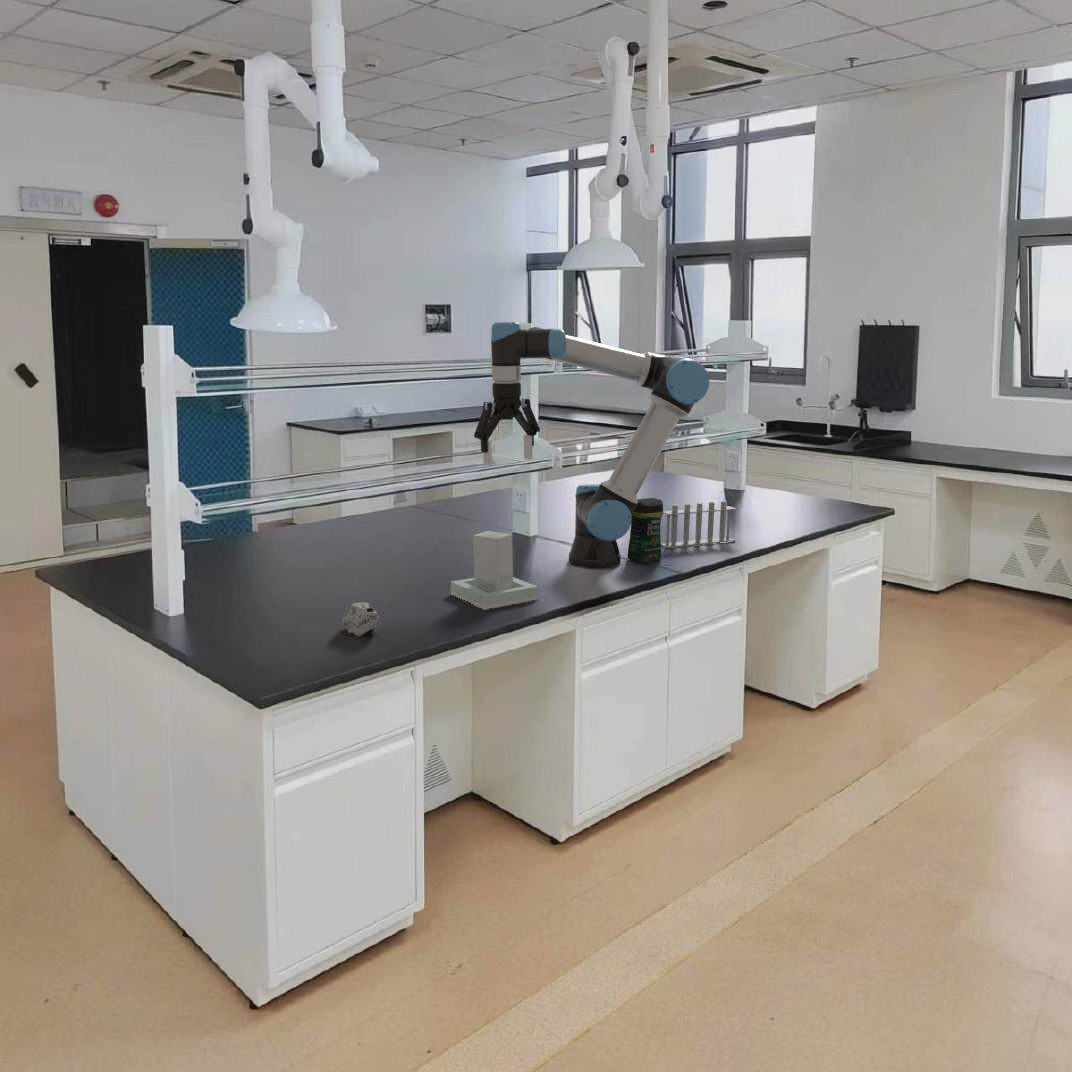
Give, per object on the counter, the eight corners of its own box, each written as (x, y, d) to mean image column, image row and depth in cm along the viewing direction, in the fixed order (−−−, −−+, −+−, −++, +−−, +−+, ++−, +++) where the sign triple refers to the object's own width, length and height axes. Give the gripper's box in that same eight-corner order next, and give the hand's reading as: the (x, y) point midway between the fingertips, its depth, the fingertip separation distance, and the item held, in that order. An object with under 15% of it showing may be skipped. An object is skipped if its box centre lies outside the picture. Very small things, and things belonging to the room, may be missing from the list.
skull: (366, 611, 242) (382, 586, 233) (375, 645, 238) (391, 621, 229) (334, 614, 238) (349, 589, 229) (342, 648, 234) (358, 624, 225)
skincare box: (514, 593, 264) (514, 534, 260) (497, 599, 259) (497, 538, 255) (489, 588, 269) (489, 529, 265) (472, 593, 264) (472, 533, 260)
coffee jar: (639, 565, 297) (642, 502, 293) (623, 559, 304) (625, 497, 300) (666, 561, 302) (668, 499, 298) (649, 555, 309) (651, 494, 305)
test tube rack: (727, 539, 332) (729, 499, 329) (735, 542, 328) (737, 501, 325) (659, 546, 322) (661, 504, 319) (666, 549, 318) (668, 507, 315)
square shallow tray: (502, 585, 275) (502, 572, 274) (537, 599, 262) (537, 586, 261) (450, 594, 266) (450, 581, 265) (484, 609, 253) (484, 596, 252)
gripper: (534, 378, 282) (535, 455, 287) (459, 384, 267) (461, 465, 272) (552, 379, 276) (553, 458, 281) (476, 385, 261) (478, 468, 266)
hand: (508, 462), depth 276 cm, fingers open, 13 cm apart
